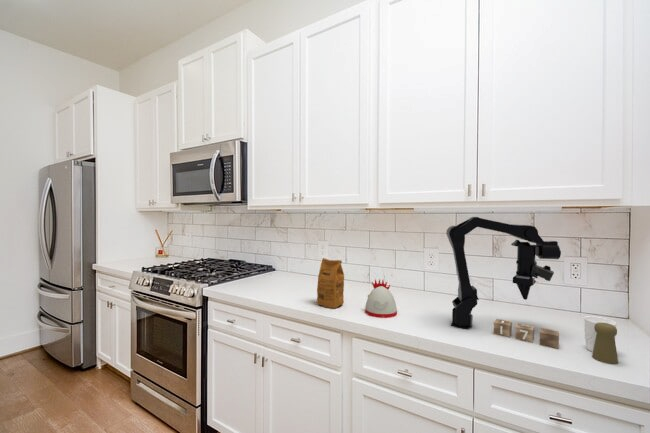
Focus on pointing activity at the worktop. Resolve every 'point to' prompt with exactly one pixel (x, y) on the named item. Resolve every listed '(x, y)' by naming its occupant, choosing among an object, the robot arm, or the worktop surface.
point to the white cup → (590, 331)
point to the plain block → (549, 338)
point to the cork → (605, 343)
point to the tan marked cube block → (524, 333)
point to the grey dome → (381, 302)
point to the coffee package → (330, 284)
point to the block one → (502, 328)
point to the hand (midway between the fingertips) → (525, 299)
